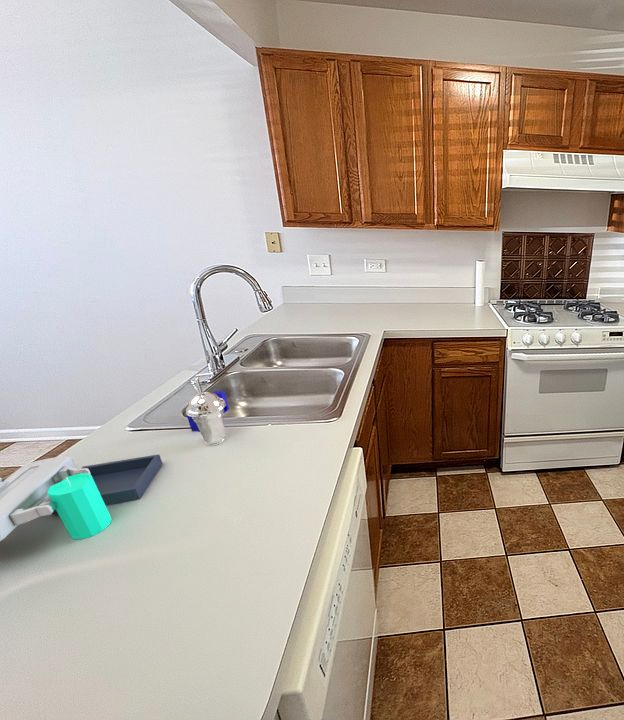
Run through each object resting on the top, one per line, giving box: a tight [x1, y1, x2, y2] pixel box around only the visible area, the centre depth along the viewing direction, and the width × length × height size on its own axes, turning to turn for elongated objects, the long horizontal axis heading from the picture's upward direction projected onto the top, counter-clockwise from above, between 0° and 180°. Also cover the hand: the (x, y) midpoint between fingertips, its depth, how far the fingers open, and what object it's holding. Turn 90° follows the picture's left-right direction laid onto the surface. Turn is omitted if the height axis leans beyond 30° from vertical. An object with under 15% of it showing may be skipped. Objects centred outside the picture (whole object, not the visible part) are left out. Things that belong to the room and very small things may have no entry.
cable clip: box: [186, 390, 230, 432], centre depth 112 cm, size 12×4×6 cm, turn 179°
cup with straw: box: [185, 371, 227, 447], centre depth 99 cm, size 8×9×20 cm
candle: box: [47, 473, 113, 540], centre depth 74 cm, size 6×6×12 cm
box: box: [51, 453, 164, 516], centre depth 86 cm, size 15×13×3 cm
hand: (71, 489), depth 74 cm, fingers open, 8 cm apart
